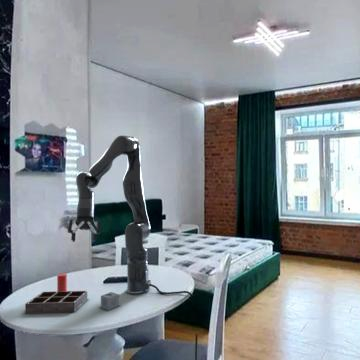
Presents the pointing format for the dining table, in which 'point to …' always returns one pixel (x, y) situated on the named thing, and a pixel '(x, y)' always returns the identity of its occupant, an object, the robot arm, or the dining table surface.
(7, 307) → the dining table surface
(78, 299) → the grid
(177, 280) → the dining table surface
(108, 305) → the dice cube
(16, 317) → the dining table surface
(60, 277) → the red cylinder
